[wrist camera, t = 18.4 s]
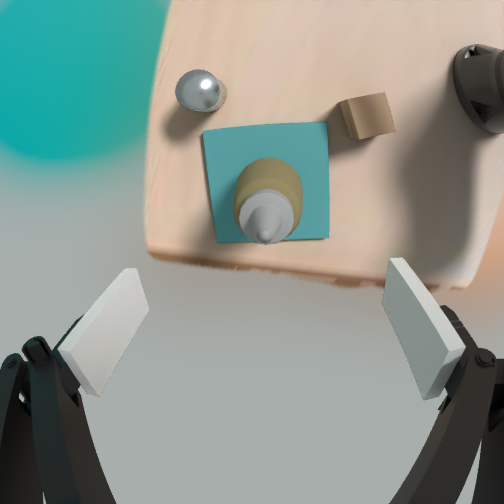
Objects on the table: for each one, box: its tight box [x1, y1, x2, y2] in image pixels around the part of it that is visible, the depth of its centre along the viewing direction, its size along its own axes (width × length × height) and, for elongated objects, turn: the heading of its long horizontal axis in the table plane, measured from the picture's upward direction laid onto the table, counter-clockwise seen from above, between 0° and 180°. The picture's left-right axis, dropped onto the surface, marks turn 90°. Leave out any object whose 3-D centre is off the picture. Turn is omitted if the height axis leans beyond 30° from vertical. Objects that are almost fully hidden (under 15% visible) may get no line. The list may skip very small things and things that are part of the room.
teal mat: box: [203, 122, 329, 243], centre depth 37 cm, size 16×16×1 cm
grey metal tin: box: [175, 70, 227, 112], centre depth 30 cm, size 5×5×6 cm
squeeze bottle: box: [232, 158, 303, 245], centre depth 28 cm, size 8×8×18 cm
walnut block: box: [338, 92, 396, 140], centre depth 30 cm, size 5×5×5 cm
